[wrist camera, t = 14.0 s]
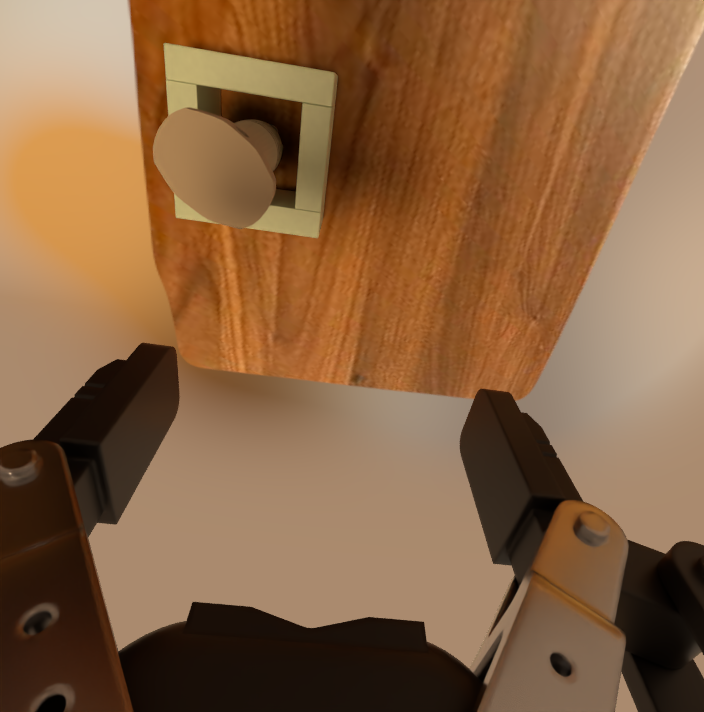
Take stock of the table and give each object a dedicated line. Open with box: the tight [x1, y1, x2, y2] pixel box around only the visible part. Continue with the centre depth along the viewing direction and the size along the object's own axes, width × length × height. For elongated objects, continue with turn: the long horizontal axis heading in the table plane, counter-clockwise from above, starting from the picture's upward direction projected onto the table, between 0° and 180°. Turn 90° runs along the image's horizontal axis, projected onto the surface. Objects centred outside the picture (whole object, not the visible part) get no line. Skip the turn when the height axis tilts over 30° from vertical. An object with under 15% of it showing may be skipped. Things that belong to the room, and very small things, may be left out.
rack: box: [164, 43, 338, 238], centre depth 33 cm, size 11×11×6 cm
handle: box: [153, 107, 284, 229], centre depth 29 cm, size 5×6×15 cm
